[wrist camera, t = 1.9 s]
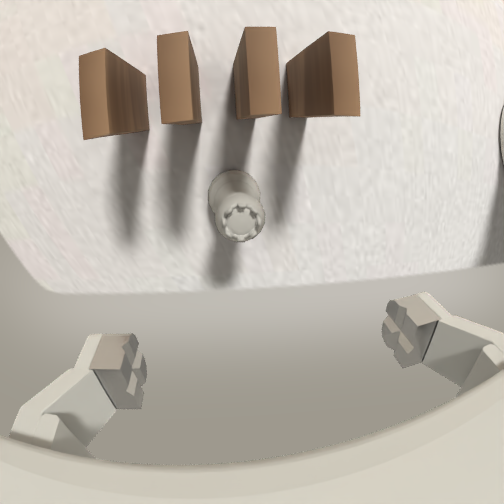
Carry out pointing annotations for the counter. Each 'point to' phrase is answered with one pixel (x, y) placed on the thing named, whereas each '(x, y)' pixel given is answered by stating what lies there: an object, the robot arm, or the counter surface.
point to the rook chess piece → (236, 205)
